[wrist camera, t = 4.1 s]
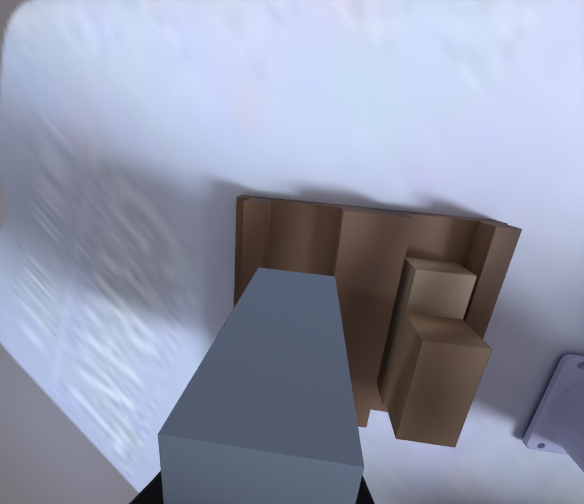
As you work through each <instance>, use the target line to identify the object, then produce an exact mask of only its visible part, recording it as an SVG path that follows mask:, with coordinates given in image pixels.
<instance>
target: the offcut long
mask: <svg viewBox="0 0 584 504" xmlns="http://www.w3.org/2000/svg"><path fill="white" fill-rule="evenodd" d="M476 277H477V276H476V275H474V274H473V273H471V272H470V271H468V270H467V269H466V268H464V267H463V266H461V265H460V264H458V263H454V262H445V261H436V260H427V259H417V258H408V257H405V259H404V264H403V268H402V273H401V277H400V281H399V286H398V290H397V295H396V299H395V303H394V308H393V312H392V317H391V321H390V325H389V330H388V334H387V338H386V343H385V347H384V352H383V356H382V360H381V365H380V369H379V374H378V378H377V382H376V383H377V386H378V390H379V394H380V397H381V401H382V405H383V406H386V403H385V400H384V399H385V395H386V391H387V386H388V382H389V378H390V374H391V370H392V366H393V362H394V358H395V354H396V350H397V346H398V342H399V337H400V333H401V329H402V325H403V321H404V317H405V313H414V314H423V315H431V316H439V317H448V318H456V319H463V317H464V314H465V311H466V308H467V305H468V302H469V299H470V296H471V293H472V289H473V286H474V283H475V280H476Z"/></svg>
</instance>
